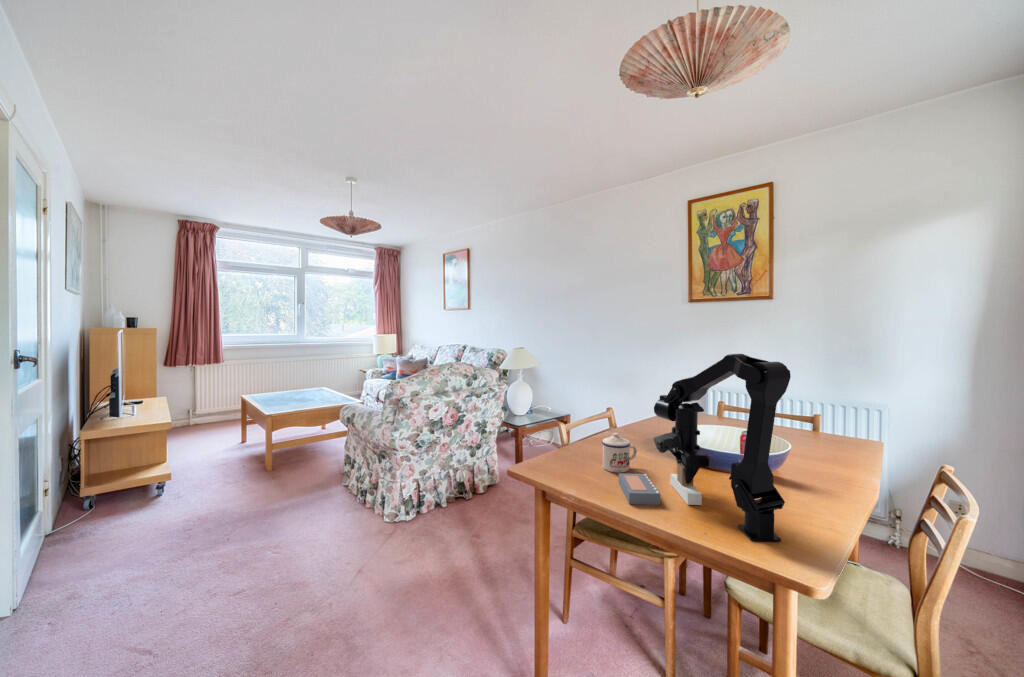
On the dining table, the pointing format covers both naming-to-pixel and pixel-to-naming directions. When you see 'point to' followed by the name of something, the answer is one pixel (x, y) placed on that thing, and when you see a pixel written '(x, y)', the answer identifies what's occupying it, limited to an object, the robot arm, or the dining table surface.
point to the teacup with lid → (617, 453)
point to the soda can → (742, 441)
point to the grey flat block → (639, 489)
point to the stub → (685, 487)
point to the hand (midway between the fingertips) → (685, 480)
